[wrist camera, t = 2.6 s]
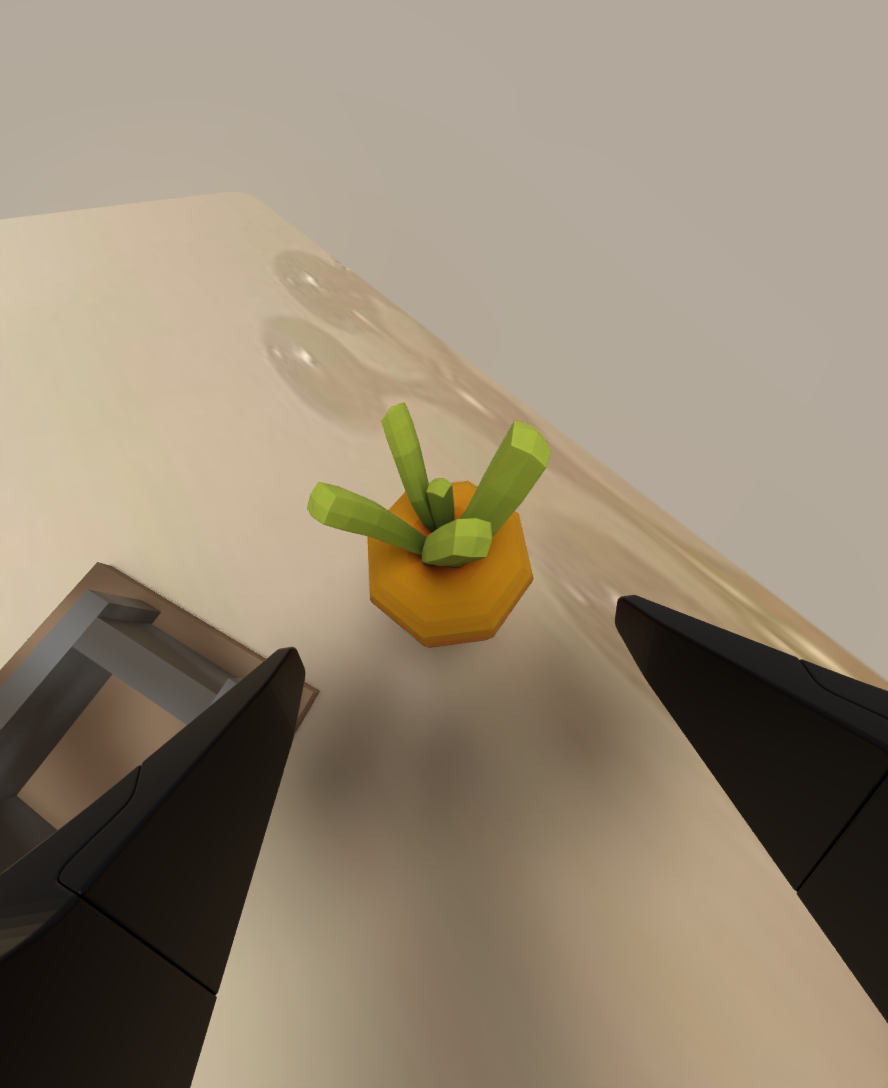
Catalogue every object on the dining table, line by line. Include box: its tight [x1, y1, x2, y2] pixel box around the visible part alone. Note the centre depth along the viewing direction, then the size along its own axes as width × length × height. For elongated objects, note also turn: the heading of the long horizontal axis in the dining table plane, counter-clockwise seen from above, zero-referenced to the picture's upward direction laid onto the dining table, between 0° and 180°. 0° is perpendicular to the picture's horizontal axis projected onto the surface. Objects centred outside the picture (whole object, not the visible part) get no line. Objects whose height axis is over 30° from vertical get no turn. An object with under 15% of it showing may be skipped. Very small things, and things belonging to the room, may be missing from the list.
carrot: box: [307, 403, 551, 647], centre depth 12 cm, size 5×5×15 cm
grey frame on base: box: [0, 562, 319, 874], centre depth 15 cm, size 16×16×4 cm
